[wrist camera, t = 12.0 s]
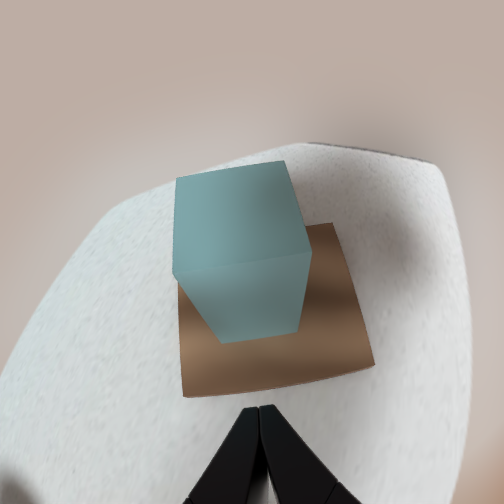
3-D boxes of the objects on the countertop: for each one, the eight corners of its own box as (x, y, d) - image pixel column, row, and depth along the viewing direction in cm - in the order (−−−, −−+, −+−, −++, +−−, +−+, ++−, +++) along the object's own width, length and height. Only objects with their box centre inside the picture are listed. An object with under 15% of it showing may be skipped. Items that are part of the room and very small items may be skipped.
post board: (370, 367, 20) (393, 353, 15) (188, 397, 20) (164, 391, 15) (330, 230, 27) (338, 193, 22) (181, 253, 27) (164, 220, 22)
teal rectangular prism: (297, 332, 21) (312, 251, 11) (221, 343, 21) (172, 273, 11) (283, 266, 24) (284, 160, 14) (215, 277, 24) (176, 178, 14)
